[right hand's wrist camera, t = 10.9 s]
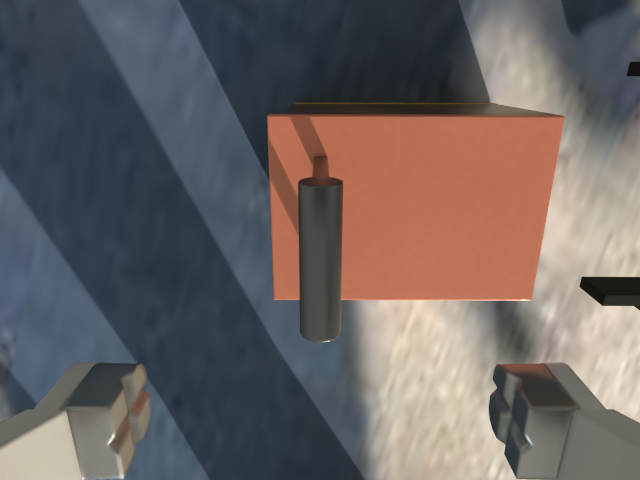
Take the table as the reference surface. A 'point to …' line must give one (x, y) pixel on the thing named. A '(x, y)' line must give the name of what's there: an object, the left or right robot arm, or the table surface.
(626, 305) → the left robot arm
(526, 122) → the lid
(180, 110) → the table surface
